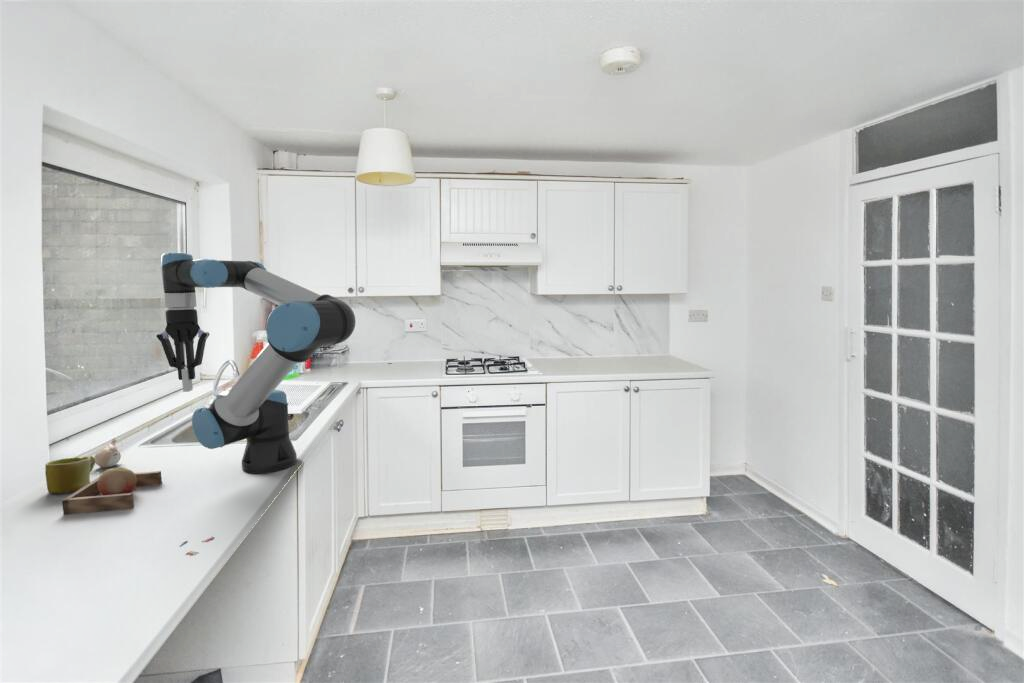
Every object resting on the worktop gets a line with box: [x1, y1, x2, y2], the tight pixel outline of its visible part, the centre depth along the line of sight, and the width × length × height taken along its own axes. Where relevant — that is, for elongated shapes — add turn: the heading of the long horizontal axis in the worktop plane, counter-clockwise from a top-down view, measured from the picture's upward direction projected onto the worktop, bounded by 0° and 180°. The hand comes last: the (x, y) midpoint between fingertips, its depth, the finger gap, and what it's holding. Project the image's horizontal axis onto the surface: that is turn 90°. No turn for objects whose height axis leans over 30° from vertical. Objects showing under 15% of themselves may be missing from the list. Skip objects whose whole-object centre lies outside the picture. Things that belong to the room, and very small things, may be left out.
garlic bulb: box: [93, 437, 122, 469], centre depth 154 cm, size 7×6×8 cm
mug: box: [44, 455, 96, 495], centre depth 138 cm, size 12×10×10 cm
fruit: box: [97, 466, 137, 495], centre depth 132 cm, size 8×8×8 cm
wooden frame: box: [61, 470, 163, 515], centre depth 132 cm, size 14×16×4 cm
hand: (188, 390), depth 146 cm, fingers closed
